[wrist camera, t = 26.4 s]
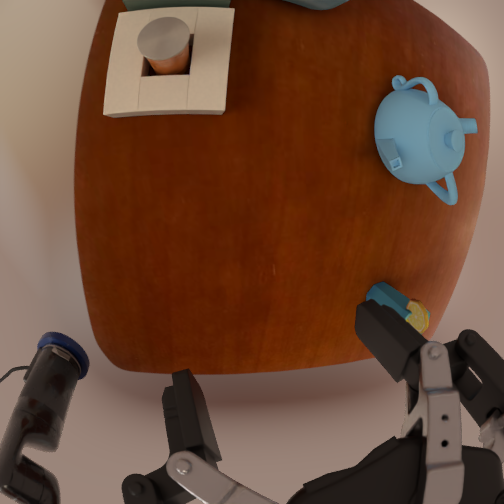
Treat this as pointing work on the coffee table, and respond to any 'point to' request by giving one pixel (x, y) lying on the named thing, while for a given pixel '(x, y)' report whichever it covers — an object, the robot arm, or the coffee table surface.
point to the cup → (401, 305)
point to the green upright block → (173, 4)
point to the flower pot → (318, 3)
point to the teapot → (421, 136)
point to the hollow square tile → (170, 86)
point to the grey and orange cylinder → (166, 45)
